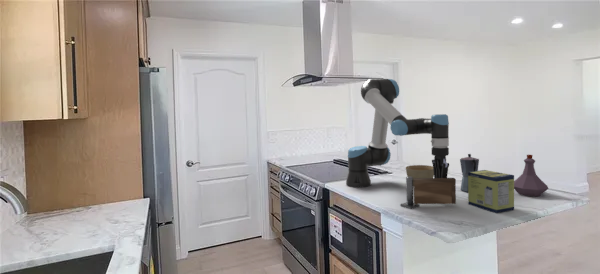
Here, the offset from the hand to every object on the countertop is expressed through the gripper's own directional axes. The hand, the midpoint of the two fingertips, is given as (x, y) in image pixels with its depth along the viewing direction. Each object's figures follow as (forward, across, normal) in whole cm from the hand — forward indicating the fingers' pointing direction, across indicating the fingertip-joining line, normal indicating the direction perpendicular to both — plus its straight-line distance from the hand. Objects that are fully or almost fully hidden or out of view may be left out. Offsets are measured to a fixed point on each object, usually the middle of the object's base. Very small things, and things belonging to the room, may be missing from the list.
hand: (440, 195), depth 158 cm
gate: (+2, +5, -5) cm, 7 cm away
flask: (+4, -6, +49) cm, 49 cm away
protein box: (+4, +10, +18) cm, 21 cm away
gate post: (+4, +3, -16) cm, 17 cm away
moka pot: (+4, -18, +25) cm, 31 cm away
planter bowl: (+4, -36, +5) cm, 36 cm away
